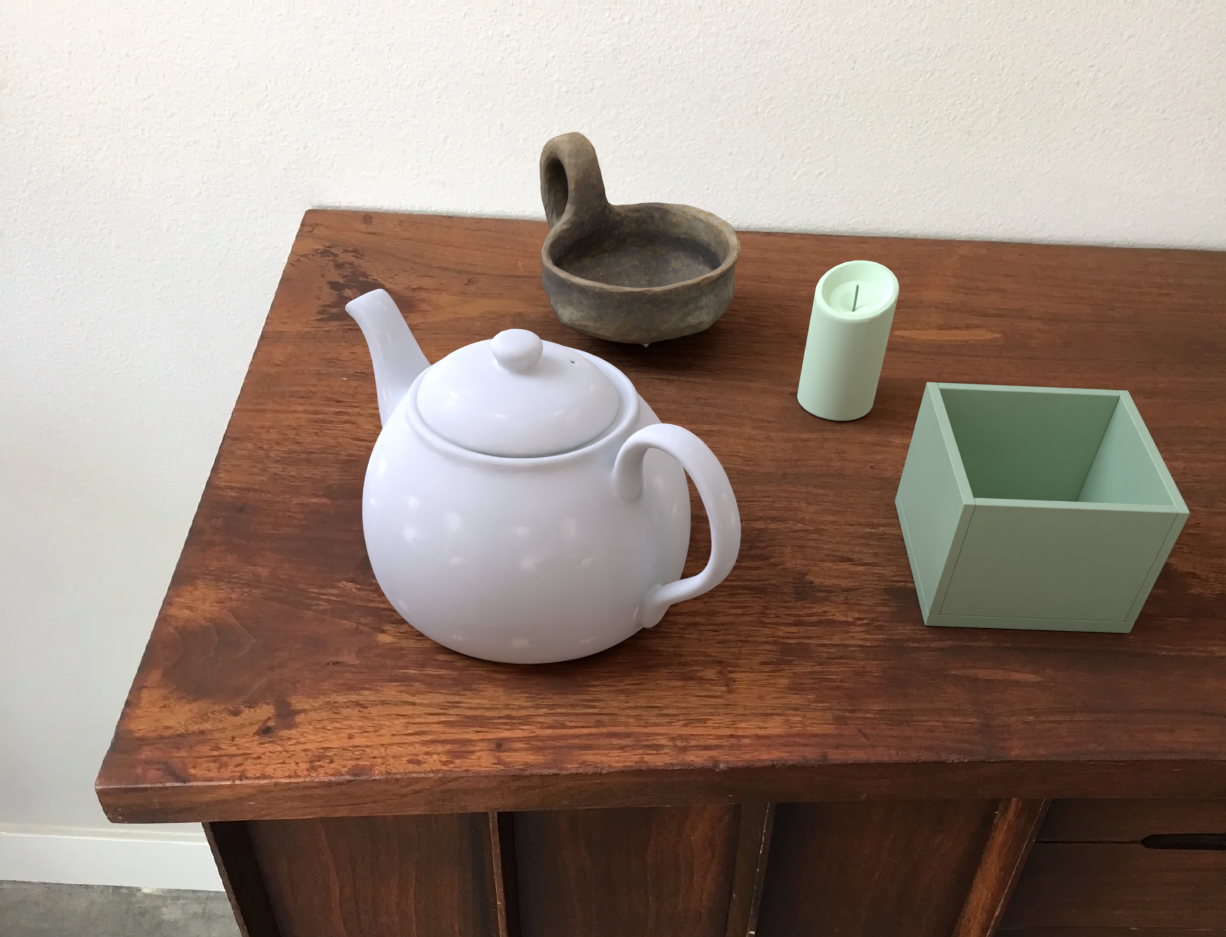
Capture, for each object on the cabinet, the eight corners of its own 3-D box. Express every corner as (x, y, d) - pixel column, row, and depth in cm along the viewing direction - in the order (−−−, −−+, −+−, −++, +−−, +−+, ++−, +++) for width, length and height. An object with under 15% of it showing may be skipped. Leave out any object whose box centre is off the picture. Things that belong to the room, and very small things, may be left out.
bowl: (618, 401, 75) (625, 245, 68) (475, 290, 84) (467, 141, 76) (776, 344, 81) (799, 193, 73) (627, 245, 90) (634, 102, 82)
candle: (852, 430, 74) (880, 305, 68) (783, 405, 76) (804, 281, 70) (884, 396, 77) (914, 273, 71) (817, 373, 79) (840, 250, 72)
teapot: (348, 697, 57) (302, 456, 47) (372, 478, 69) (339, 246, 58) (721, 690, 59) (758, 455, 48) (683, 477, 70) (706, 249, 60)
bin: (1078, 508, 70) (1128, 389, 64) (1129, 633, 63) (1190, 512, 57) (894, 501, 70) (926, 381, 64) (924, 626, 63) (964, 503, 57)
